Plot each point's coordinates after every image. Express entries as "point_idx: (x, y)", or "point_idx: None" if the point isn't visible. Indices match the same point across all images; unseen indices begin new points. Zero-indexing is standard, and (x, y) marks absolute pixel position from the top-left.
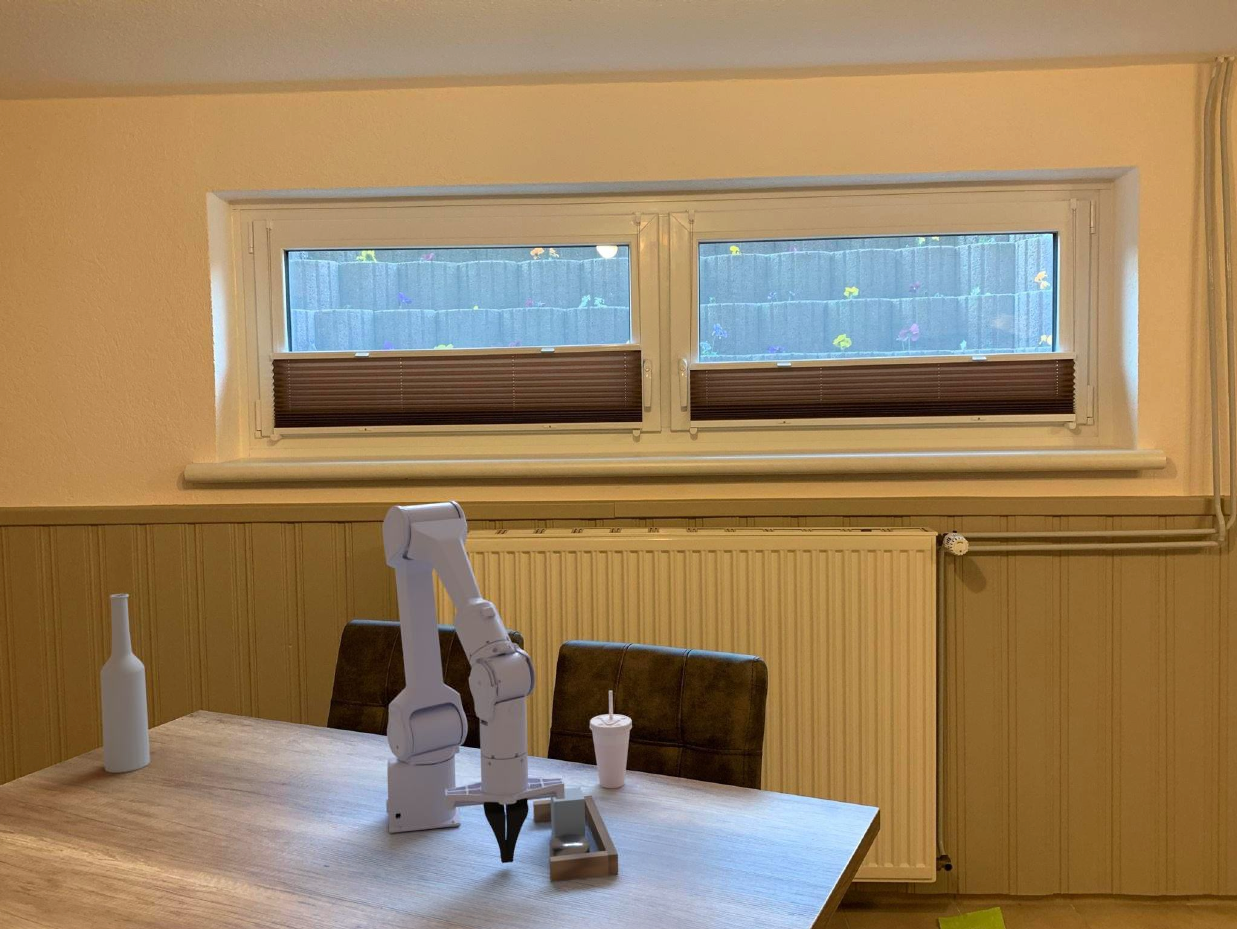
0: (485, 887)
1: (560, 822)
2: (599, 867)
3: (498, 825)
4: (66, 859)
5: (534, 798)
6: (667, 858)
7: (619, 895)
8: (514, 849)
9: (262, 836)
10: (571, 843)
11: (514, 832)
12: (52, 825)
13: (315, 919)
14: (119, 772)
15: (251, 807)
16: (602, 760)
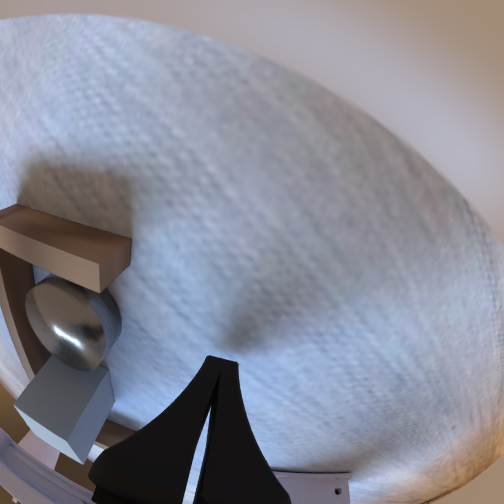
0: (312, 300)
1: (75, 399)
2: (24, 217)
3: (239, 465)
4: None
5: (70, 483)
6: None
7: (31, 111)
8: (194, 377)
9: (440, 466)
10: (55, 328)
11: (178, 420)
12: (488, 463)
13: None
14: (425, 502)
15: (409, 491)
16: (47, 450)
